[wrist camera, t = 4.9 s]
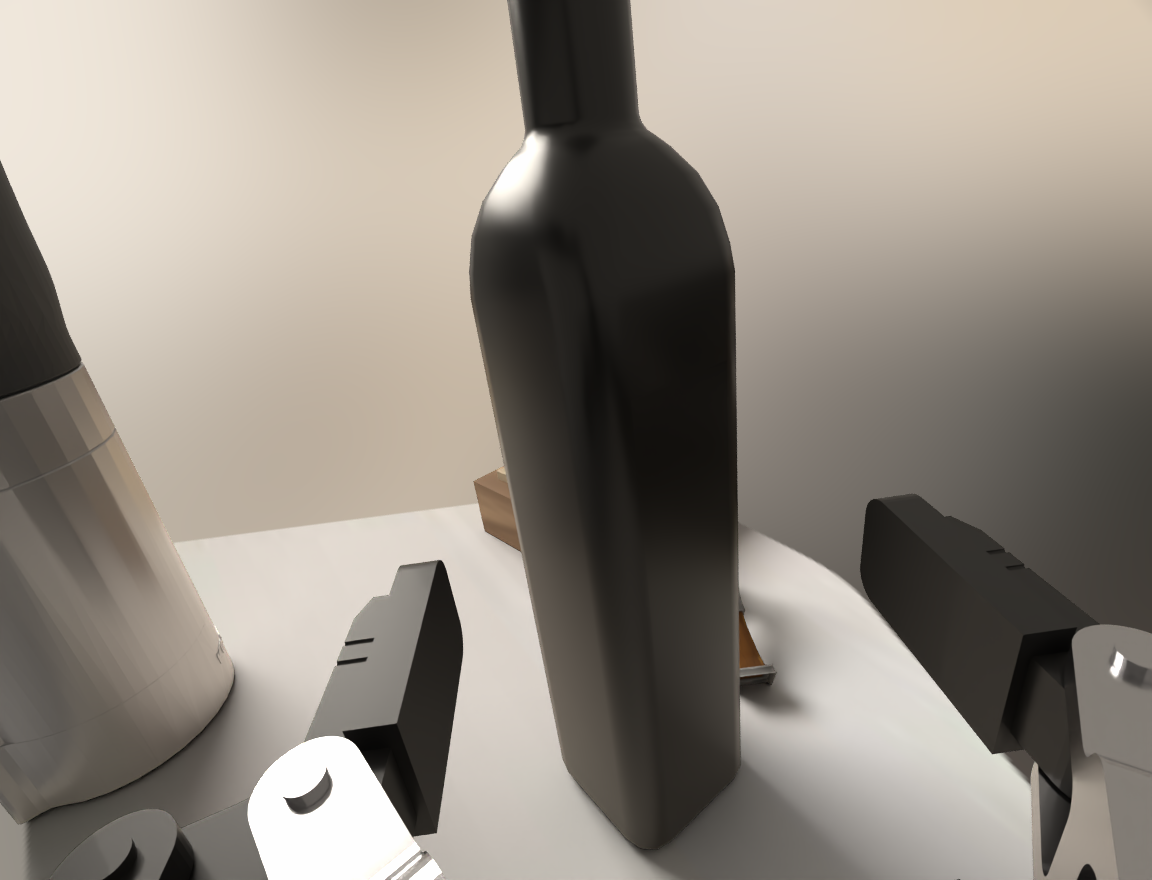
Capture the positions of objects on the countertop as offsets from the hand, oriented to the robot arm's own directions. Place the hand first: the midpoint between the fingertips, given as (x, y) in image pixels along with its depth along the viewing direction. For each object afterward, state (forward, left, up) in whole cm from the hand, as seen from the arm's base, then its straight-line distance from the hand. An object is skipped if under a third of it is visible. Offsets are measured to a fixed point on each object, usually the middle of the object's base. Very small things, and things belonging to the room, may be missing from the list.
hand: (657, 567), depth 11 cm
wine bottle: (+4, +5, -15) cm, 17 cm away
